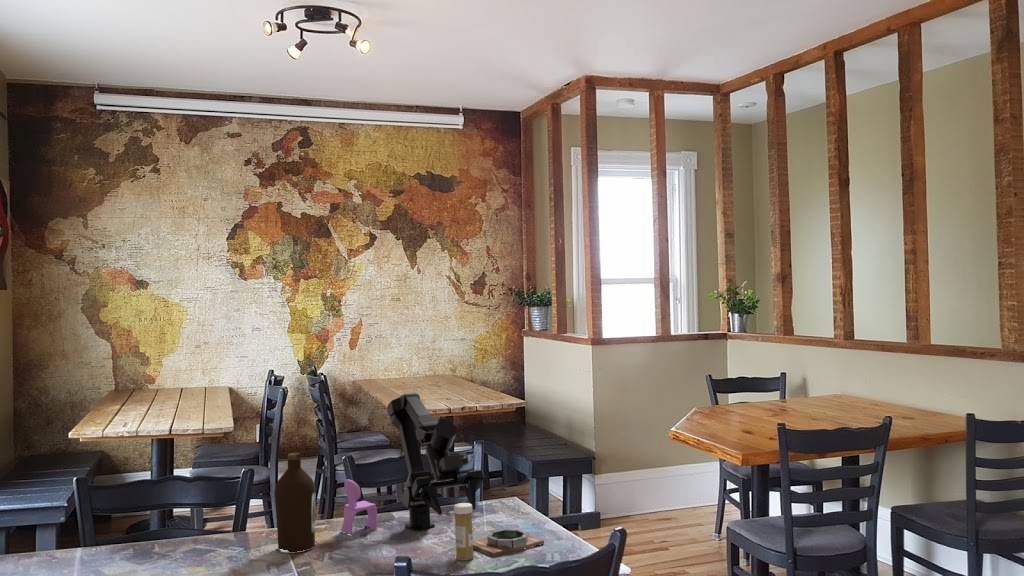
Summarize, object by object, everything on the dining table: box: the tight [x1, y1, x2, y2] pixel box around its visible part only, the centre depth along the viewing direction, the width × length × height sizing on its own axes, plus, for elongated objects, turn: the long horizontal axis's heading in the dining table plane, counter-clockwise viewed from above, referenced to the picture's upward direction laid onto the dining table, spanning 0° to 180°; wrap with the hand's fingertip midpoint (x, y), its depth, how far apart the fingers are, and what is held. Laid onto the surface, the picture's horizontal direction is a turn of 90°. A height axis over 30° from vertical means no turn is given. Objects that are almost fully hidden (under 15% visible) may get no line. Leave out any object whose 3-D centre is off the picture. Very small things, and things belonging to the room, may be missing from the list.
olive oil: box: [273, 452, 317, 552], centre depth 225 cm, size 11×11×25 cm
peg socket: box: [486, 528, 529, 548], centre depth 221 cm, size 10×10×2 cm
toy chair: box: [340, 478, 378, 536], centre depth 239 cm, size 8×9×15 cm
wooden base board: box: [473, 534, 545, 558], centre depth 221 cm, size 12×16×1 cm
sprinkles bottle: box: [453, 502, 475, 562], centre depth 212 cm, size 5×5×13 cm
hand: (457, 511), depth 215 cm, fingers open, 9 cm apart
